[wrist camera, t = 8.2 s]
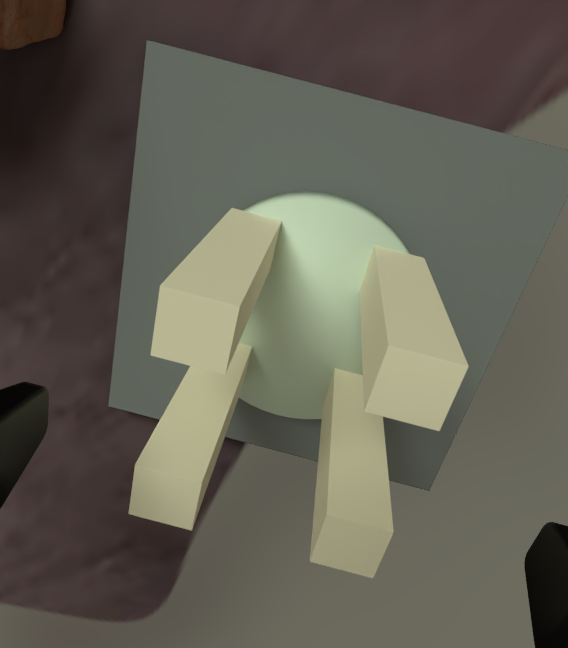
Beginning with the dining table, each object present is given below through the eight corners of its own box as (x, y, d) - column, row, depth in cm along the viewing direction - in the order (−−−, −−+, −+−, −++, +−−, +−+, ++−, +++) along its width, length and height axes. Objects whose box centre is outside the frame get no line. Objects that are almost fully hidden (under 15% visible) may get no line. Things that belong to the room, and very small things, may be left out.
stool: (183, 369, 18) (89, 530, 12) (218, 164, 15) (119, 228, 9) (380, 421, 18) (397, 611, 12) (455, 226, 15) (535, 337, 9)
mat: (115, 397, 20) (108, 406, 19) (154, 41, 15) (147, 40, 14) (426, 479, 20) (428, 491, 19) (578, 152, 14) (586, 155, 14)
